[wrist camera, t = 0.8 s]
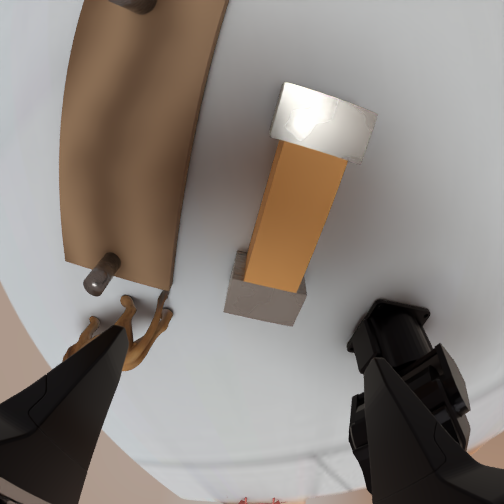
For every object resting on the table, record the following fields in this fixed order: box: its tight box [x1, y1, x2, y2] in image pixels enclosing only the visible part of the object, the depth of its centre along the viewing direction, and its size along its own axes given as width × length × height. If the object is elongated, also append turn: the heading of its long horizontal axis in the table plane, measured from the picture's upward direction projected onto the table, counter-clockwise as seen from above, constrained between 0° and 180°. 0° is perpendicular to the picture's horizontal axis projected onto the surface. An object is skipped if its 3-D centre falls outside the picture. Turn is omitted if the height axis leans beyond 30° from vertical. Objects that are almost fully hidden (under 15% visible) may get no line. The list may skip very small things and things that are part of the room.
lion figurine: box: [63, 290, 173, 371], centre depth 22 cm, size 15×5×9 cm, turn 130°
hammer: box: [224, 82, 378, 326], centre depth 18 cm, size 5×15×4 cm, turn 166°
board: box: [59, 0, 229, 296], centre depth 15 cm, size 10×22×4 cm, turn 166°
